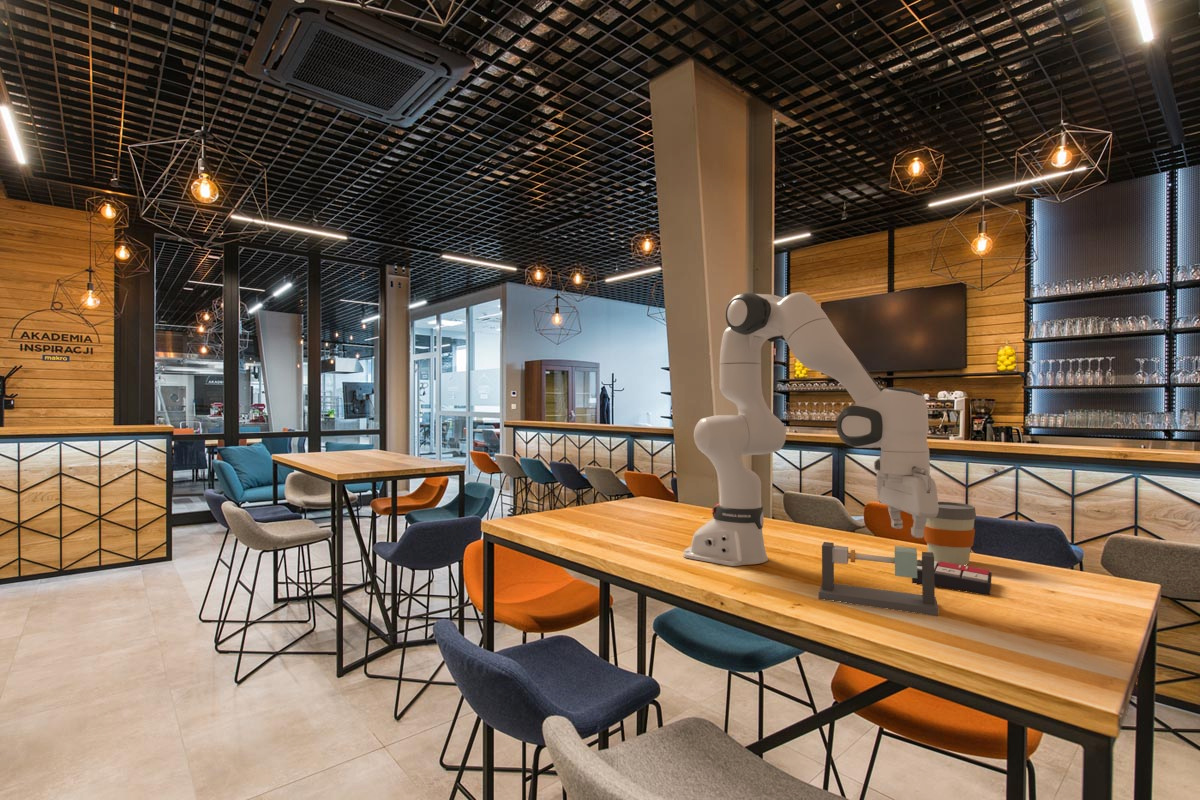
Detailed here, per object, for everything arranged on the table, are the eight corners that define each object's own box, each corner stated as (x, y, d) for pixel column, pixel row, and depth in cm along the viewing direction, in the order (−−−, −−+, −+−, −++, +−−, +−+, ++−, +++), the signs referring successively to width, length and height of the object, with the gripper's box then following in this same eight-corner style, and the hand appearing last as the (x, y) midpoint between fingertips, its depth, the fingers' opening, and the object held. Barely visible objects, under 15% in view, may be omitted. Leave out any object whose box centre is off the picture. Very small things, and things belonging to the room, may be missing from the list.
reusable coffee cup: (975, 559, 154) (974, 503, 154) (978, 570, 143) (977, 510, 144) (922, 553, 161) (921, 500, 161) (921, 563, 150) (920, 506, 150)
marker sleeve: (894, 575, 117) (894, 551, 117) (895, 569, 121) (894, 545, 121) (917, 578, 115) (917, 553, 115) (916, 572, 119) (916, 548, 119)
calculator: (990, 580, 124) (912, 565, 133) (989, 600, 124) (911, 584, 133) (991, 568, 133) (918, 556, 142) (991, 587, 133) (917, 573, 142)
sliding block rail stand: (818, 599, 122) (818, 547, 122) (823, 588, 129) (822, 539, 129) (938, 616, 112) (937, 559, 112) (935, 603, 119) (935, 550, 119)
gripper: (947, 469, 108) (949, 543, 107) (900, 461, 128) (901, 523, 127) (912, 469, 108) (913, 543, 108) (870, 461, 129) (872, 523, 128)
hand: (906, 532), depth 118 cm, fingers open, 8 cm apart
